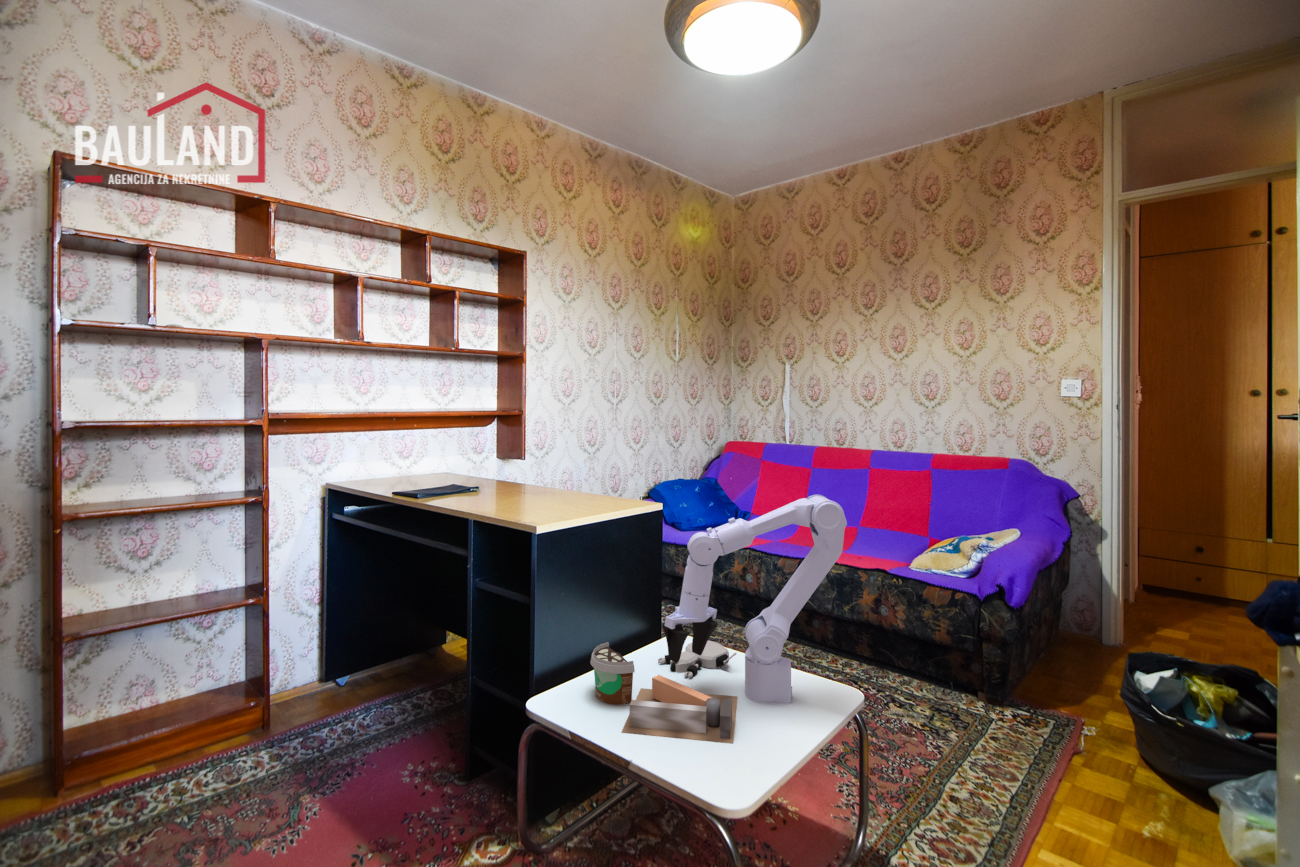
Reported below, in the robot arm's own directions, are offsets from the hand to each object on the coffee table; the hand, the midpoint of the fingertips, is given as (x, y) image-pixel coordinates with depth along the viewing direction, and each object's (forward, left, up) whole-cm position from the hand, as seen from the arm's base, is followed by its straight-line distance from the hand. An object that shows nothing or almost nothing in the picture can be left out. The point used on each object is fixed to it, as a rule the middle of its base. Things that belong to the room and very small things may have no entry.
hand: (685, 656), depth 125 cm
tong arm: (-1, +7, -7) cm, 10 cm away
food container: (+15, +4, -9) cm, 18 cm away
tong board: (-1, +8, -9) cm, 12 cm away
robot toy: (-1, -16, -9) cm, 18 cm away
